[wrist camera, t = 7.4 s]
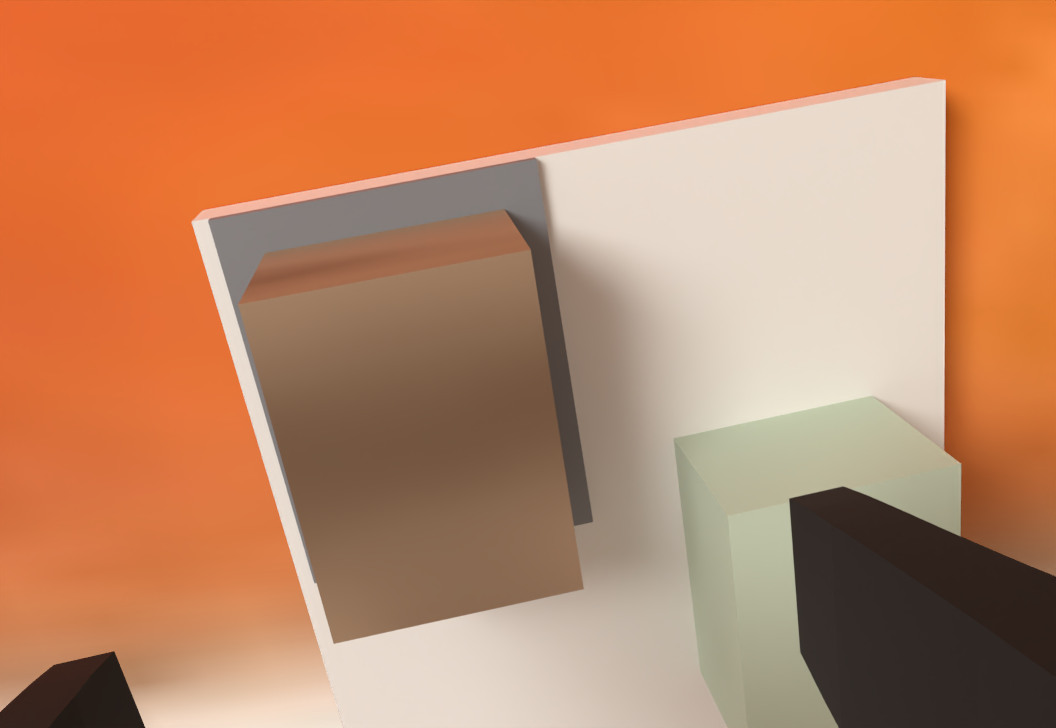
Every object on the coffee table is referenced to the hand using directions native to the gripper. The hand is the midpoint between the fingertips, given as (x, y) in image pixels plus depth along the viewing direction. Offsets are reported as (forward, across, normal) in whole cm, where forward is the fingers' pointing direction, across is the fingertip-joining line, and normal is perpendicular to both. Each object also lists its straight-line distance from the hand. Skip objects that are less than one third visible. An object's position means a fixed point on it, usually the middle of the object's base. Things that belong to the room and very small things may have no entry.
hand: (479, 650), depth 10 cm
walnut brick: (+7, 0, 0) cm, 7 cm away
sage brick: (+7, -6, +5) cm, 11 cm away
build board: (+8, -3, +5) cm, 10 cm away
